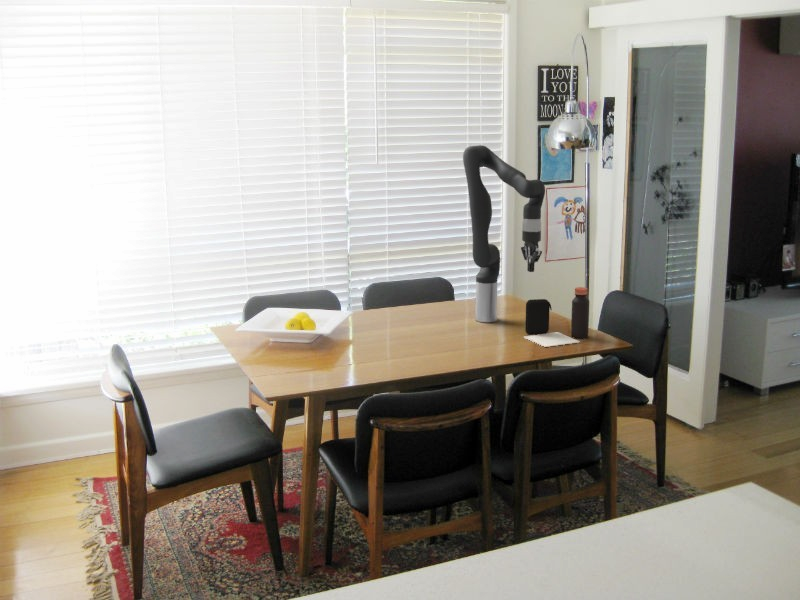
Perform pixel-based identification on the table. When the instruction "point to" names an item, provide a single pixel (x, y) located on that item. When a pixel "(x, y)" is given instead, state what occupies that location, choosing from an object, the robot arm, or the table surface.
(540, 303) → the carrying case or bag
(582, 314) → the bottle
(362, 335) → the table surface
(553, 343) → the cream paper sheet
